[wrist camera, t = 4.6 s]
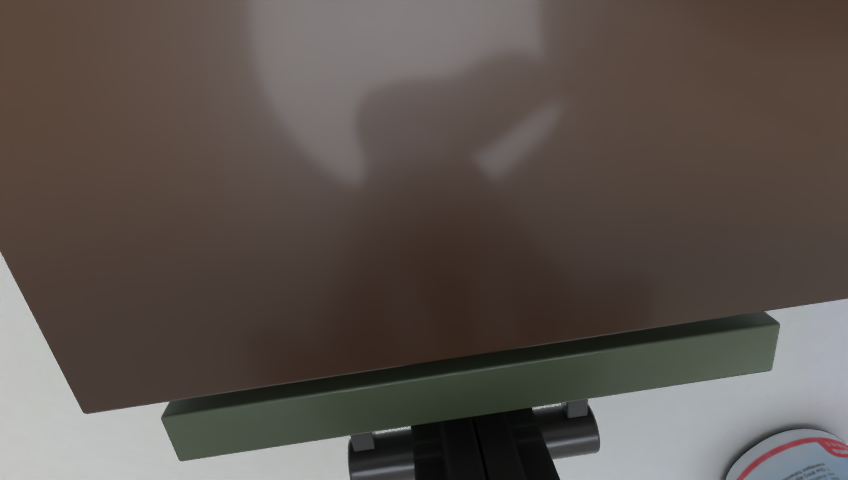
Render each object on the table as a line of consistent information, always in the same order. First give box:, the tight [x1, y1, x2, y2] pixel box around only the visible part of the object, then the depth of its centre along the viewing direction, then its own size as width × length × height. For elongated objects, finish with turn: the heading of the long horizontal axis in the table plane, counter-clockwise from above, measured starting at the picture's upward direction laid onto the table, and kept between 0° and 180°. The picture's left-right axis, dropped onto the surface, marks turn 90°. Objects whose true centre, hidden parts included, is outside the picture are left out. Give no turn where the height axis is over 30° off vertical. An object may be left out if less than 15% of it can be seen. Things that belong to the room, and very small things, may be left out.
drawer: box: [161, 311, 780, 480], centre depth 12 cm, size 20×12×8 cm, turn 7°
